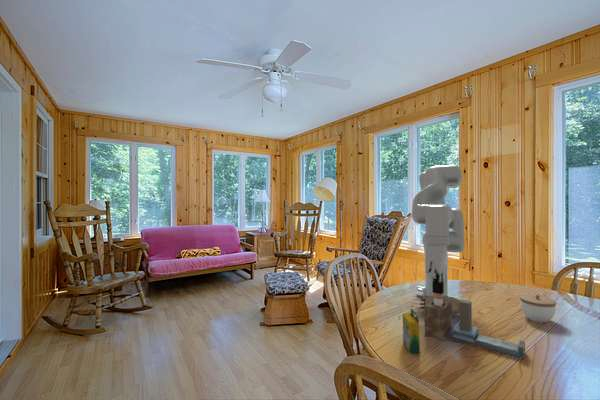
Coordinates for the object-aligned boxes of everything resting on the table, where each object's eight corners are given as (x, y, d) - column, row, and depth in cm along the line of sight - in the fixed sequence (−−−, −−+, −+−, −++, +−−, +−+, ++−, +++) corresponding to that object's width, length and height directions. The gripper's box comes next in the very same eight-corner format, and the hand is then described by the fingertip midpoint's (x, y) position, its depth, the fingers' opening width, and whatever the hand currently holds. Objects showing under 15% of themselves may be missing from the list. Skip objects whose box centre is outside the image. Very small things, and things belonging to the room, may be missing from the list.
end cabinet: (424, 334, 102) (424, 306, 102) (434, 325, 109) (434, 298, 109) (443, 340, 98) (442, 310, 98) (452, 330, 105) (451, 302, 105)
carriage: (452, 336, 97) (452, 302, 97) (458, 329, 102) (458, 296, 102) (473, 342, 93) (472, 306, 93) (478, 334, 98) (477, 300, 98)
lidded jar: (563, 326, 107) (563, 300, 107) (529, 324, 109) (529, 298, 109) (545, 314, 117) (544, 291, 117) (514, 313, 119) (514, 290, 119)
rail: (445, 337, 99) (445, 327, 99) (449, 332, 103) (449, 322, 103) (523, 359, 85) (523, 348, 85) (525, 352, 89) (525, 341, 89)
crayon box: (402, 342, 96) (402, 307, 96) (411, 342, 96) (411, 307, 96) (410, 354, 89) (409, 316, 89) (420, 354, 89) (419, 316, 89)
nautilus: (403, 314, 121) (416, 305, 133) (461, 324, 108) (470, 314, 119) (402, 294, 122) (415, 287, 133) (459, 302, 108) (468, 294, 120)
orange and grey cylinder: (432, 314, 103) (431, 294, 103) (435, 311, 106) (434, 292, 106) (441, 316, 101) (441, 296, 101) (444, 313, 103) (444, 293, 103)
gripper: (433, 237, 111) (434, 286, 111) (418, 241, 100) (419, 295, 100) (455, 239, 106) (455, 290, 106) (441, 243, 95) (442, 300, 95)
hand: (438, 292), depth 103 cm, fingers closed
